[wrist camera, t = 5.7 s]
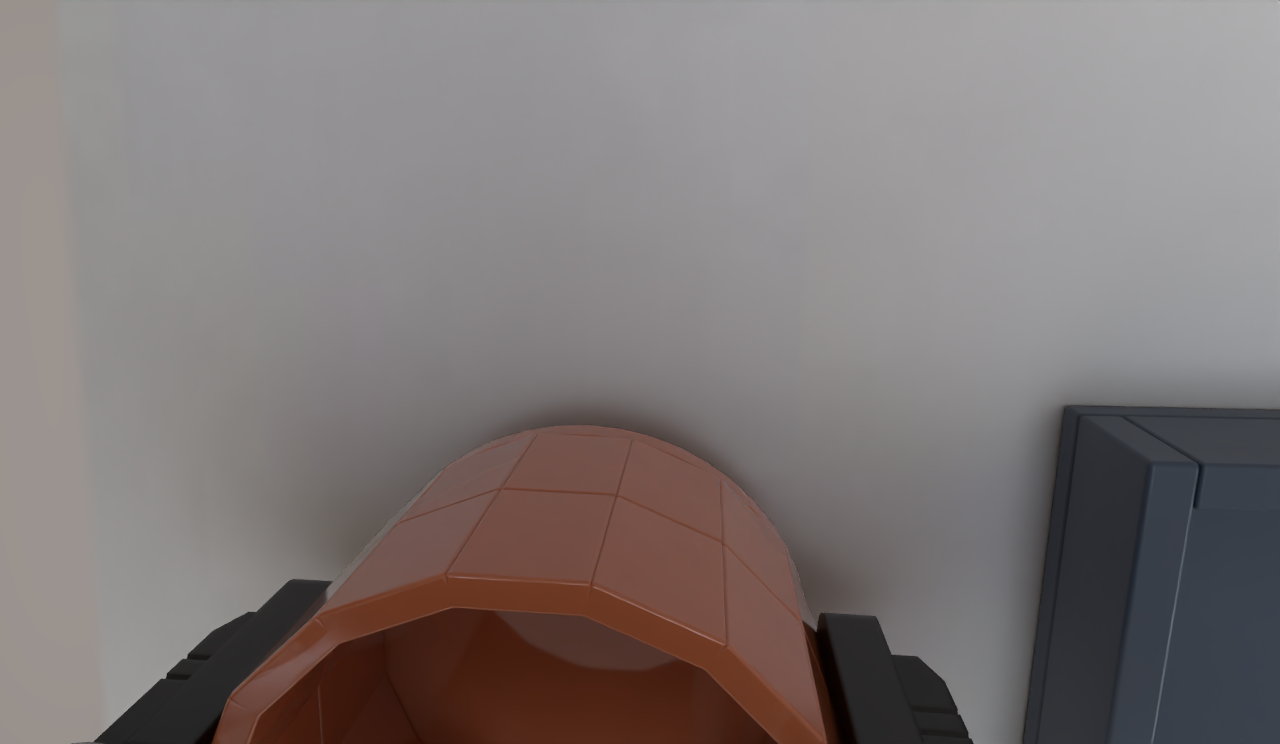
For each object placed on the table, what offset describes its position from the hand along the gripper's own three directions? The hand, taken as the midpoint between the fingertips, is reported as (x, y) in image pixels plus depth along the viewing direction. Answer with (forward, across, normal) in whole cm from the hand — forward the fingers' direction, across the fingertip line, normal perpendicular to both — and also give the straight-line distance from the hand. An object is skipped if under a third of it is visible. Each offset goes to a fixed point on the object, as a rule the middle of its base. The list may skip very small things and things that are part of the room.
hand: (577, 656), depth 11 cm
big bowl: (+1, 0, 0) cm, 1 cm away
